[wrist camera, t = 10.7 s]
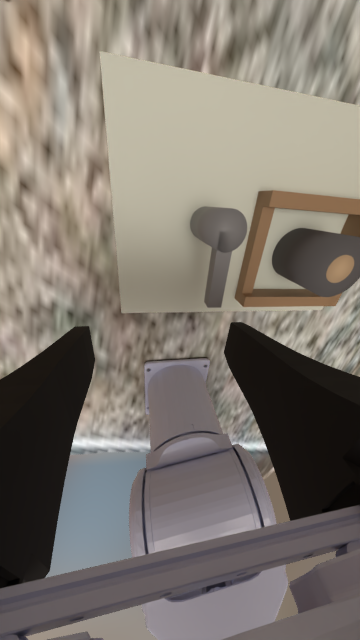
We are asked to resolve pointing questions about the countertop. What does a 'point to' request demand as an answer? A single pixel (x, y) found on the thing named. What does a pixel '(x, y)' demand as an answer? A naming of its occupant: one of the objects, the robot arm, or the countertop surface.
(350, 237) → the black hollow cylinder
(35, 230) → the countertop surface
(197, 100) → the board
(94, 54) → the countertop surface
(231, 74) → the countertop surface
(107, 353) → the countertop surface
